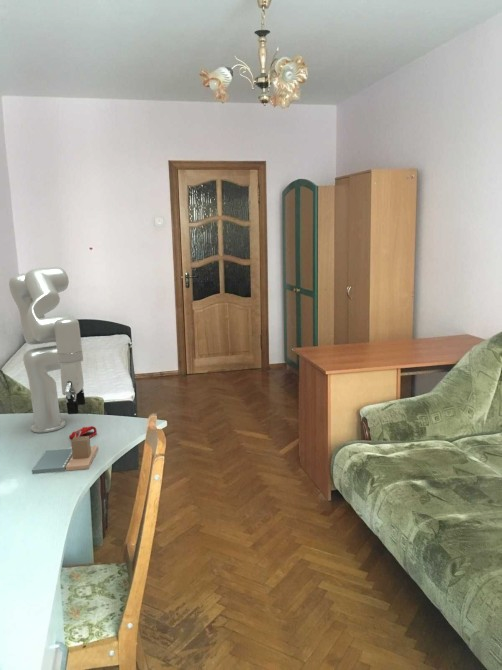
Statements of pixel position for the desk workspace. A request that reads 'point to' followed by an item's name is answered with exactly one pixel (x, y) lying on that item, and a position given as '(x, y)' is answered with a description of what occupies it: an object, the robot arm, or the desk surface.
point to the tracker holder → (82, 432)
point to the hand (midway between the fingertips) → (76, 408)
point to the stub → (81, 453)
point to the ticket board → (53, 461)
